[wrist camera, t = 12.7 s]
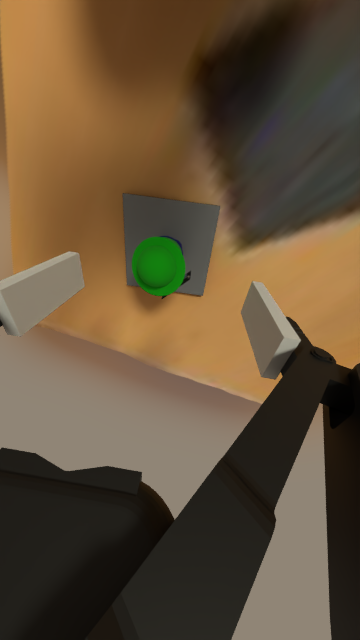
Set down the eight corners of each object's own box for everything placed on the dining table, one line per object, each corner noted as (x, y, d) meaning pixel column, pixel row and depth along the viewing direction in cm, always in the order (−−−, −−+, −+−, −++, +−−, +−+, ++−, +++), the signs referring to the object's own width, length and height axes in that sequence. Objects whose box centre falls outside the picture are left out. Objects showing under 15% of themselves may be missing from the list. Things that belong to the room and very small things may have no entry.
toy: (165, 279, 43) (150, 312, 30) (139, 246, 39) (109, 269, 27) (198, 254, 39) (196, 281, 26) (171, 217, 36) (155, 226, 23)
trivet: (124, 193, 35) (122, 193, 34) (219, 205, 35) (220, 206, 34) (128, 283, 45) (126, 284, 44) (202, 293, 45) (202, 295, 44)
